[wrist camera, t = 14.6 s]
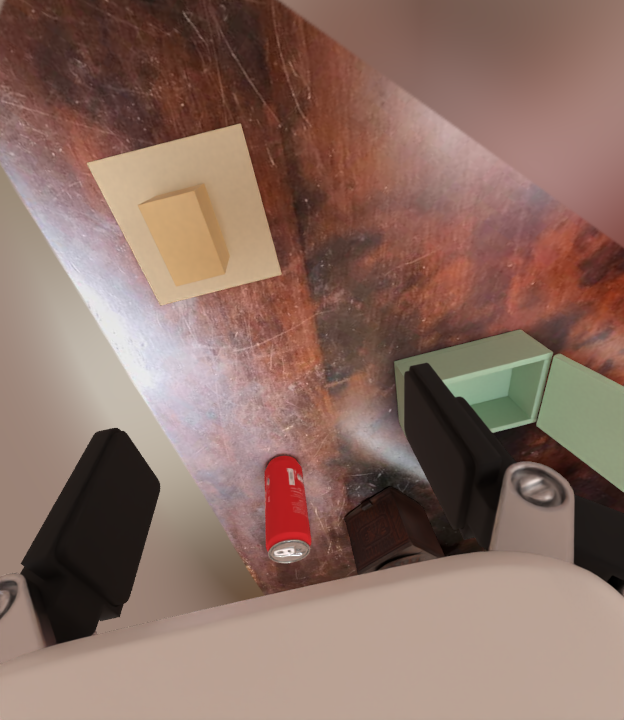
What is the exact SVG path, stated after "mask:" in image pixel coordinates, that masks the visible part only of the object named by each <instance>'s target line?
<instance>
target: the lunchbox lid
mask: <svg viewBox="0 0 624 720" xmlns="http://www.w3.org/2000/svg"><path fill="white" fill-rule="evenodd" d="M536 426H537V427H539V428H540V429H541V430H543V431H544V432H545V433H547V434H548V435H549V436H551V437H552V438H553V439H555V440H556V441H557V442H558V443H560V444H561V445H562V446H564V447H565V448H566V449H568V450H569V451H570V452H572V453H573V454H574V455H576V456H577V457H578V458H579V459H581V460H582V461H583V462H585V463H586V464H587V465H589V466H590V467H591V468H593V469H594V470H595V471H597V472H598V473H599V474H600V475H602V476H603V477H604V478H606V479H607V480H608V481H610V482H611V483H612V484H614V485H615V486H616V487H618V488H619V489H620V490H621V491H623V492H624V387H623V386H621V385H619V384H618V383H616V382H614V381H612V380H610V379H608V378H606V377H604V376H602V375H600V374H598V373H596V372H594V371H592V370H591V369H589V368H587V367H585V366H583V365H581V364H579V363H577V362H575V361H573V360H571V359H569V358H567V357H565V356H563V355H562V354H557V355H555V356H554V357H553V361H552V365H551V369H550V373H549V377H548V381H547V385H546V389H545V393H544V397H543V401H542V405H541V409H540V413H539V417H538V421H537V425H536Z"/></svg>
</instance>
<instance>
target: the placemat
mask: <svg viewBox="0 0 624 720" xmlns="http://www.w3.org/2000/svg"><path fill="white" fill-rule="evenodd" d="M87 165H88V167H89V169H90V171H91V173H92V175H93V177H94V179H95V181H96V182H97V184H98V186H99V188H100V190H101V192H102V194H103V196H104V198H105V200H106V202H107V204H108V206H109V208H110V209H111V211H112V213H113V215H114V217H115V219H116V221H117V223H118V225H119V227H120V229H121V231H122V233H123V235H124V236H125V238H126V240H127V242H128V244H129V246H130V248H131V250H132V252H133V254H134V256H135V258H136V260H137V262H138V263H139V265H140V267H141V269H142V271H143V273H144V275H145V277H146V279H147V281H148V283H149V285H150V287H151V289H152V290H153V292H154V294H155V296H156V298H157V300H158V302H159V304H160V306H161V305H165V304H169V303H173V302H177V301H181V300H185V299H189V298H192V297H196V296H200V295H204V294H208V293H212V292H216V291H220V290H224V289H228V288H232V287H235V286H239V285H243V284H247V283H251V282H255V281H259V280H263V279H267V278H271V277H275V276H279V275H282V273H281V269H280V266H279V262H278V258H277V255H276V251H275V247H274V244H273V240H272V236H271V233H270V229H269V225H268V222H267V218H266V214H265V211H264V207H263V203H262V200H261V196H260V192H259V189H258V185H257V181H256V177H255V174H254V170H253V166H252V163H251V159H250V155H249V152H248V148H247V144H246V141H245V137H244V133H243V130H242V126H241V124H236V125H232V126H228V127H225V128H221V129H217V130H213V131H209V132H205V133H201V134H197V135H193V136H190V137H186V138H182V139H178V140H174V141H170V142H166V143H162V144H158V145H155V146H151V147H147V148H143V149H139V150H135V151H131V152H127V153H123V154H120V155H116V156H112V157H108V158H104V159H100V160H96V161H92V162H89V163H87ZM200 184H205V187H206V190H207V193H208V196H209V198H210V201H211V204H212V207H213V210H214V213H215V215H216V218H217V221H218V224H219V227H220V230H221V232H222V235H223V238H224V241H225V244H226V246H227V249H228V252H229V255H230V258H229V261H228V265H227V269H226V273H225V274H224V275H220V276H216V277H212V278H208V279H204V280H200V281H196V282H193V283H189V284H185V285H181V286H177V287H176V286H175V283H174V281H173V279H172V277H171V275H170V273H169V271H168V269H167V266H166V264H165V262H164V260H163V258H162V256H161V254H160V252H159V250H158V247H157V245H156V243H155V241H154V239H153V237H152V235H151V233H150V231H149V228H148V226H147V224H146V222H145V220H144V218H143V216H142V214H141V211H140V209H139V207H138V205H139V204H141V203H143V202H145V201H147V200H149V199H151V198H153V197H155V196H157V195H161V194H165V193H169V192H173V191H177V190H180V189H184V188H188V187H192V186H196V185H200Z"/></svg>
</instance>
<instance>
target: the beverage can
mask: <svg viewBox="0 0 624 720" xmlns="http://www.w3.org/2000/svg"><path fill="white" fill-rule="evenodd" d="M265 519H266V549H267V551H268V555H269V558H270V559H271V560H273V561H275V562H278V563H291V562H296V561H299V560H301V559H303V558H305V557H306V556H307V555H308V554H309V552H310V545H311V535H310V527H309V520H308V512H307V505H306V497H305V490H304V482H303V475H302V468H301V466H300V465H299V464H298V461H297V460H296V459H295V458H294V457H291V456H287V455H282V456H277V457H275V458H273V459H272V460H270V462H269V463H268V466H267V468H266V470H265Z"/></svg>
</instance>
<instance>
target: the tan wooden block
mask: <svg viewBox="0 0 624 720" xmlns="http://www.w3.org/2000/svg"><path fill="white" fill-rule="evenodd" d="M138 207H139V209H140V211H141V214H142V216H143V218H144V220H145V222H146V224H147V226H148V228H149V231H150V233H151V235H152V237H153V239H154V241H155V243H156V245H157V247H158V250H159V252H160V254H161V256H162V258H163V260H164V262H165V264H166V266H167V269H168V271H169V273H170V275H171V277H172V279H173V281H174V283H175V286H176V287H177V286H181V285H185V284H189V283H193V282H196V281H200V280H204V279H208V278H212V277H216V276H220V275H224V274H225V273H226V269H227V265H228V261H229V258H230V255H229V252H228V249H227V246H226V244H225V241H224V238H223V235H222V232H221V230H220V227H219V224H218V221H217V218H216V215H215V213H214V210H213V207H212V204H211V201H210V198H209V196H208V193H207V190H206V187H205V184H200V185H196V186H192V187H188V188H184V189H180V190H177V191H173V192H169V193H165V194H161V195H157V196H155V197H153V198H151V199H149V200H147V201H145V202H143V203H141V204H139V205H138Z"/></svg>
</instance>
